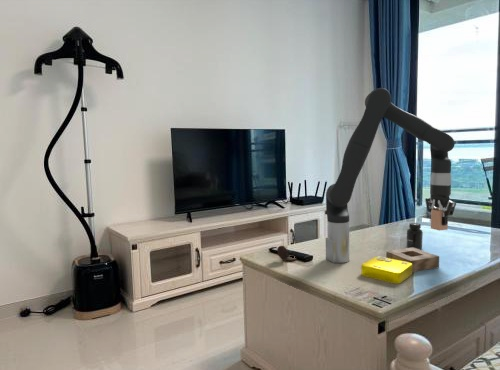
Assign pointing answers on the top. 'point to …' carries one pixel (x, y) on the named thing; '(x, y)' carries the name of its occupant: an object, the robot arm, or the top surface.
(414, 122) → the robot arm
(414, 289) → the top surface
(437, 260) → the walnut base
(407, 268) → the element tile
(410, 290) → the top surface
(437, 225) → the terracotta peg
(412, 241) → the supplement bottle
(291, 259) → the compass
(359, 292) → the top surface
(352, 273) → the top surface
